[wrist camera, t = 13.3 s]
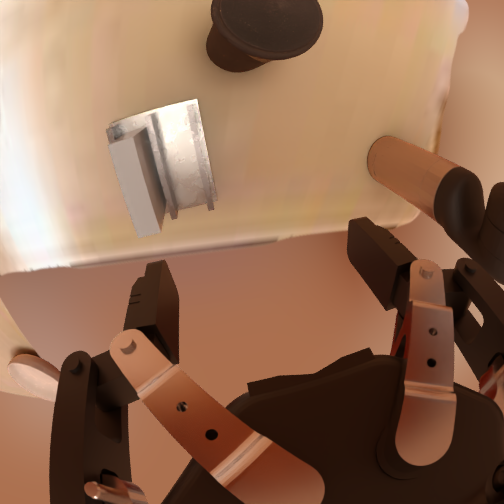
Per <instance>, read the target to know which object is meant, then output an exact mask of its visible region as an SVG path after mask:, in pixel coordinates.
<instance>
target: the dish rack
mask: <svg viewBox="0 0 504 504" xmlns="http://www.w3.org/2000/svg"><path fill="white" fill-rule="evenodd" d="M145 126H147V130H148V134H149V138H150V142H151V146H152V150H153V154H154V158H155V162H156V166H157V170H158V173H159V177H160V181H161V184H162V188H163V191H164V195H165V198H166V202H167V203H166V208H165V213H169V212H170V215H171V218H172V219H176V218H177V216H178V210H181V209H185V208H189V207H193V206H197V205H202V204H206V203H207V205H208V209H209V211H210V210H214V205H213V202H215V201H217V196H216V192H215V187H214V182H213V177H212V172H211V168H210V163H209V158H208V153H207V148H206V143H205V138H204V133H203V127H202V122H201V117H200V112H199V106H198V101H197V99H194V100H189V101H185V102H180V103H176V104H172V105H168V106H165V107H161V108H157V109H154V110H150V111H147V112H143V113H140V114H137V115H134V116H131V117H128V118H125V119H122V120H119V121H116V122H113V123H110V124H109V127H110V128H108V129H106V132H107V136H108V140H109V144H110V143H112V142H113V141H115V140H116V139H118V138H119V137H121V136H122V135H124V134H125V133H127V132H129V131H132V130H135V129H139V128H142V127H145Z"/></svg>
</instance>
